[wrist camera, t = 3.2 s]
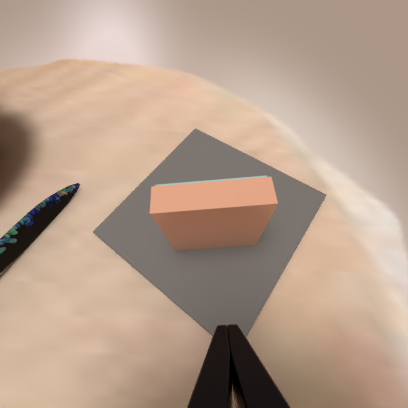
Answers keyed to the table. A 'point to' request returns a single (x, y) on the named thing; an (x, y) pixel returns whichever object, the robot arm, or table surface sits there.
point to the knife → (33, 225)
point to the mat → (213, 257)
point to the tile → (213, 211)
